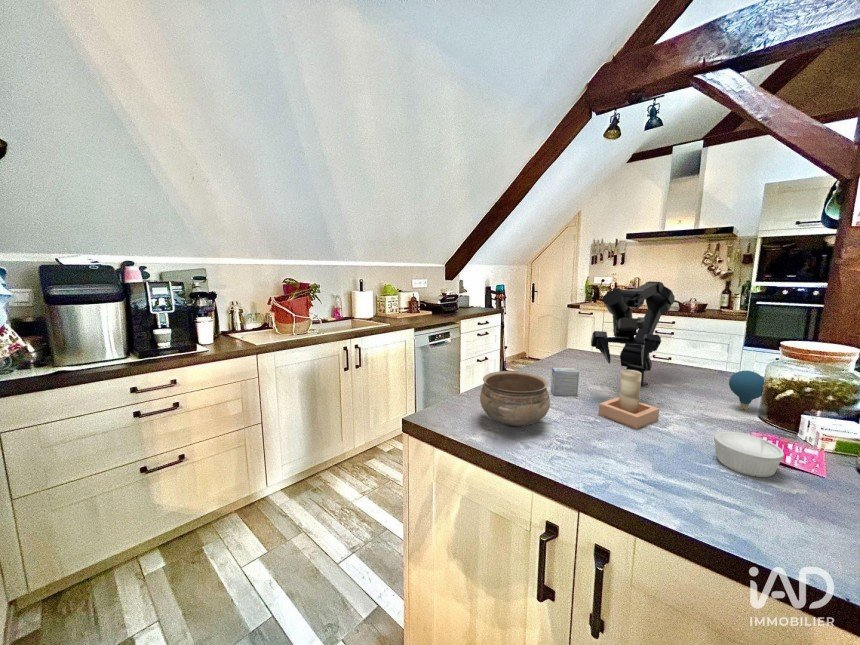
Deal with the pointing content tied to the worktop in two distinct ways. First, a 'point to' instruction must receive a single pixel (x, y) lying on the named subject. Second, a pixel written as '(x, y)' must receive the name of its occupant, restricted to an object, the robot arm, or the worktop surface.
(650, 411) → the tray
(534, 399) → the cooking pot
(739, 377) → the light bulb
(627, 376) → the vase
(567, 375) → the medicine box
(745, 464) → the ramekin
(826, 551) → the worktop surface
